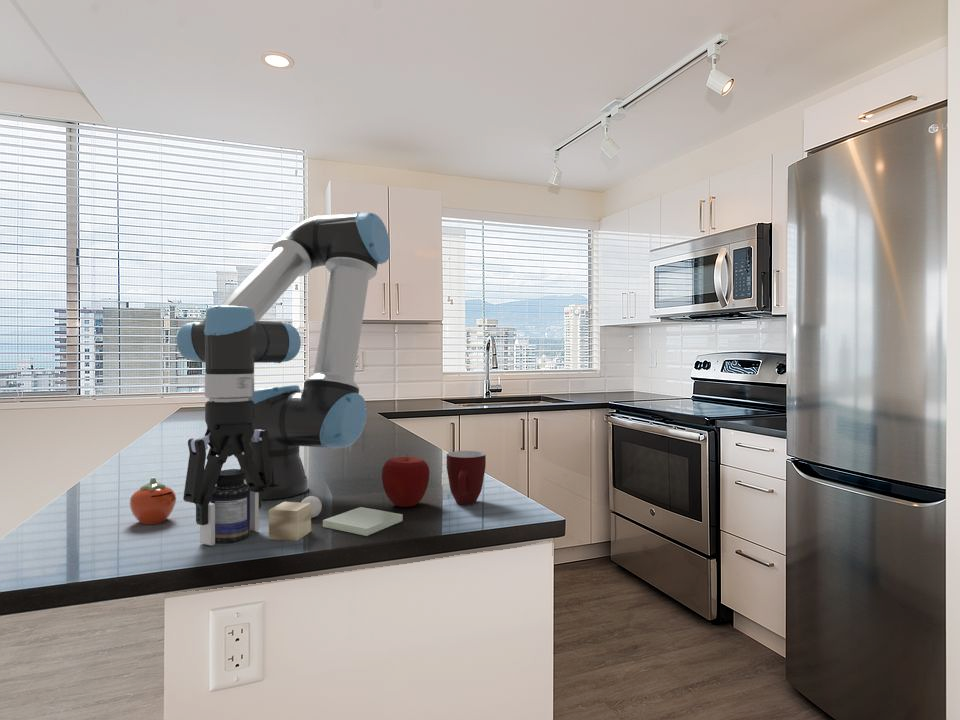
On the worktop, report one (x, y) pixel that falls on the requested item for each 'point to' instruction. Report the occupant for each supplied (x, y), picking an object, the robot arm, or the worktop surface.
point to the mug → (466, 475)
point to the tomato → (152, 503)
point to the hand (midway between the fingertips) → (230, 536)
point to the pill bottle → (231, 506)
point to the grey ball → (313, 505)
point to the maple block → (289, 521)
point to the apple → (405, 480)
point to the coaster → (362, 521)
